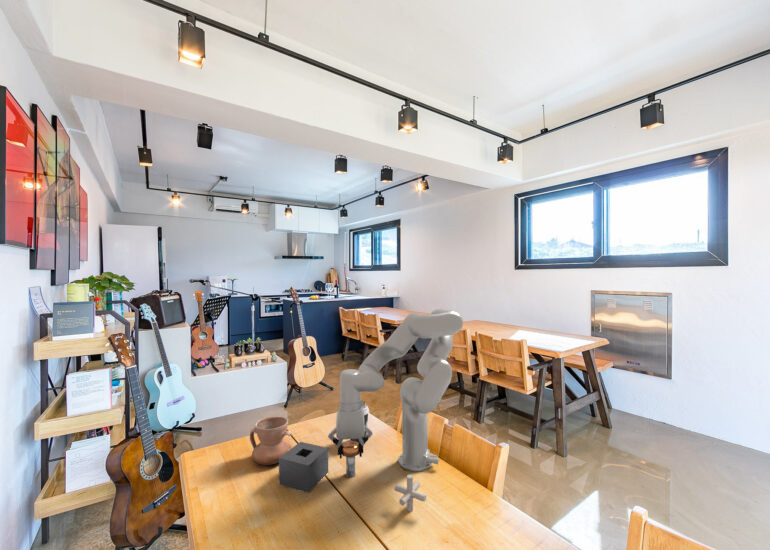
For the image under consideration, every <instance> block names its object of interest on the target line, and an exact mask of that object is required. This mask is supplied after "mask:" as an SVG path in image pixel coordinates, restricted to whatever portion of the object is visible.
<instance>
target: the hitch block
mask: <svg viewBox="0 0 770 550" xmlns="http://www.w3.org/2000/svg"><path fill="white" fill-rule="evenodd" d="M327 473H328V474H329V447H326V446H322V445H321V446H320V445H317V444H314V443H309V442H304V441H300V442H298V443H297V444H296V445H294V446H292V448H291V449H290V450H289V451H288V452H286V453H285V454H284V455H282V456H281V457H280V458H279V463H278V485H279V486H282V487H286V488H290V489H293V490H296V491H301V492H304V493H306V494H310V492H312V491H313V490H314V488H315V487H316V486H318V484H319V483H320V482H321V481H322V480H323V479H324V478H325V477H326V476H327V475H328V474H327ZM326 474H327V475H326ZM324 476H325V477H324ZM323 477H324V478H323ZM321 479H322V480H321Z"/></svg>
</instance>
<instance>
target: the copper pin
mask: <svg viewBox="0 0 770 550" xmlns="http://www.w3.org/2000/svg"><path fill="white" fill-rule="evenodd" d="M341 444H342V457H345V472H346V473H345V476H346V475H347V476H348V477H347V476H346V477H347V478H350V477H351V478H353V477H356V457H357V456H358V455H359V443H358V442H356V441H351V440H347V441H345V442H342V443H341Z"/></svg>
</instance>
